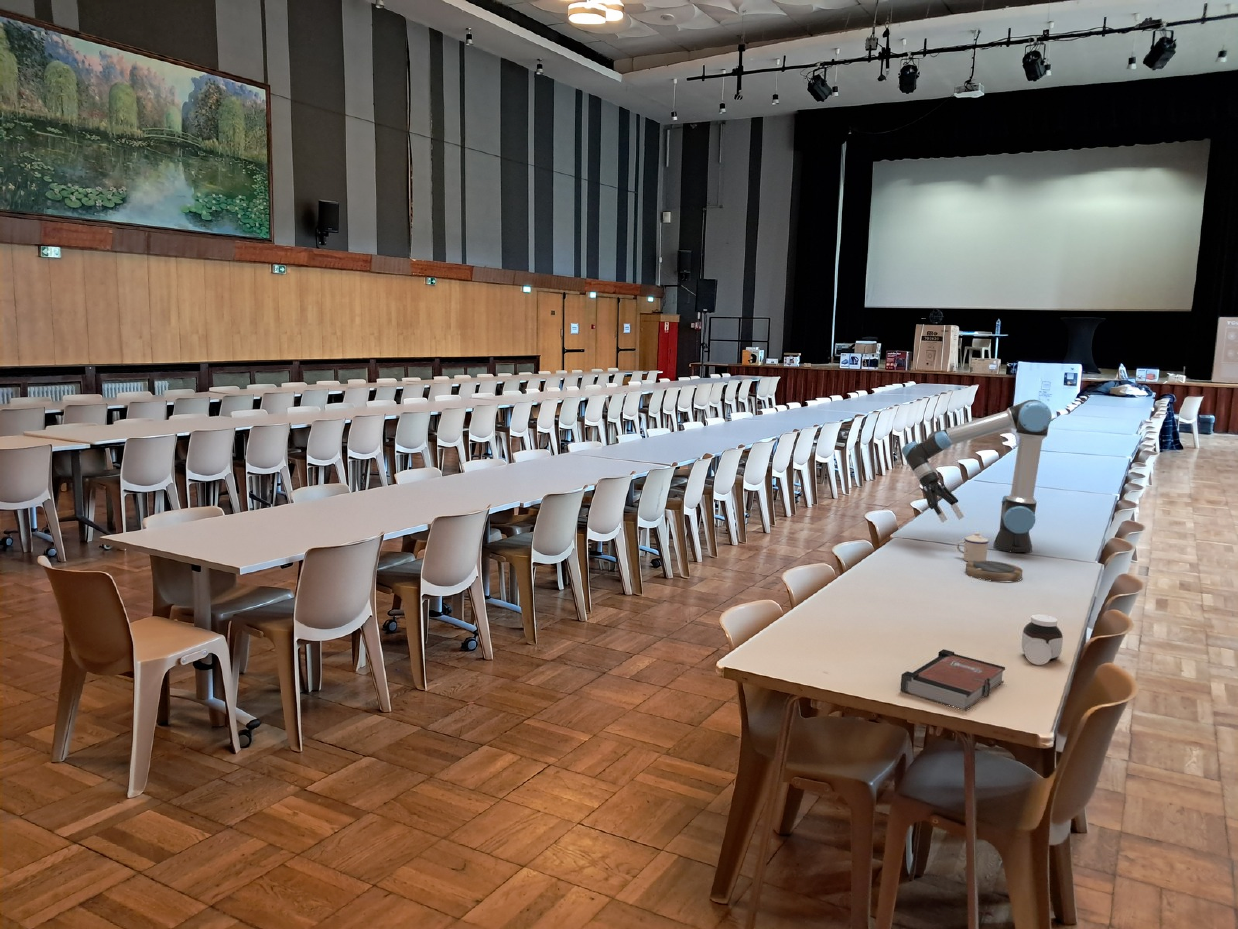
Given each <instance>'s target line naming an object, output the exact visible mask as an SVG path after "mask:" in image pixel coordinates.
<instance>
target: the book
mask: <svg viewBox="0 0 1238 929" xmlns="http://www.w3.org/2000/svg"><path fill="white" fill-rule="evenodd" d="M1005 670H1006V666H1002V665H999V664H994V663H992V662H991V663H990V662H987V661H983V660H979V659H977V658H976V659H975V658H973V657H972V658H971V657H969V656H965V655H960V654H956V653H955V651H952V650H947V649H942V650H940V651H938V655H937V657H936V658H934V659H932V660H931V661H929V662H928V663H926V664H924V665H922V666H920V667H919V668H917V669H916V670H914V671H913V672H911V671H905V672H903V673H902V674H901V680H900V691H902V692H901V693H904V694H907V695H910V696H915V697H917V698H920V699H923V698H924V700H927V701H932V702H934V703H937V702H938V704H940V703H942V704H941V705H943V704H944V705H943V706H946V705H950V706H954V707H956V708H959V709H958V710H960V709H962V710H961V711H963V710H965V711H964V712H966V711H968V710H969V709H970V708H972V707H971V706H972V705H973V706H974V705H976V704H977V703H979V701H981V700H982V699H983V698H987V697H988V696H990V693H991V692H992V690H993V689H994V688H995V689H997V688H998V687H999V686H1000V685H1002V684H1003V683H1004V682H1005V680H1003V672H1004V671H1005ZM1001 683H1002V684H1001ZM999 684H1000V685H999ZM998 685H999V686H998ZM997 686H998V687H997ZM995 689H994V690H995ZM994 690H993V691H994ZM990 691H991V692H990ZM950 706H949V707H950ZM956 708H955V709H956ZM968 708H969V709H968ZM967 709H968V710H967Z"/></svg>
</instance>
